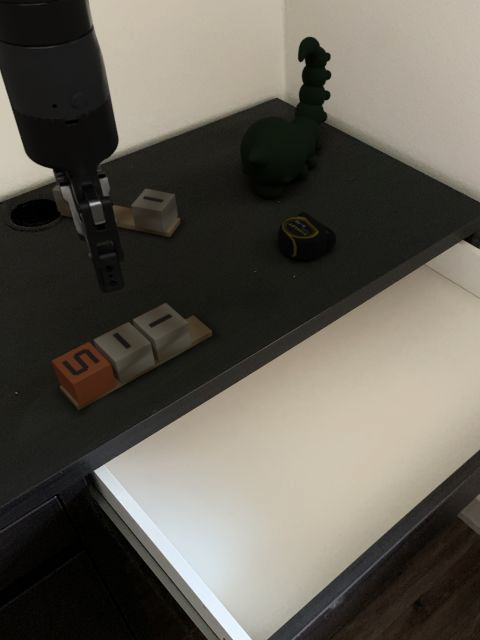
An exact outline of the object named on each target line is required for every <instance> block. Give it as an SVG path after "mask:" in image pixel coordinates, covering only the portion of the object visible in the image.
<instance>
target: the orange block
mask: <svg viewBox="0 0 480 640" xmlns="http://www.w3.org/2000/svg"><path fill="white" fill-rule="evenodd" d="M51 363H52V366H53V369H54V372H55V374H56V377H57V379H58V382H59V384H60V386H61V385H62V386H63V387H64V388H65V390H66V391H67V392H68V393H69V394H70V395H71V396H72V397H73V399H74V400H75V401H76V402H77V403H78V404H79V405H80V406H82V405H84V404H85V403H87V402H89V401H91V400H93V399H94V398H96V397H98V396H100V395H102V394H103V393H105V392H107V391H109V390H111V389H112V388H114V387H116V386H117V385H116V382H115V378H114V374H113V371H112V367H111V364H110V363H109V362H108V361H107V360H106V359H105V358H104V357H103V356H102V355H101V354H100V353H99V352H98V351H97V350H96V347H95V345H93V344H91V342H89V341H88V342H85V343H83V344H82V345H80V346H78V347H76V348H74V349H72V350H70V351H68V352H67V353H64V354H62V355H60V356H58V357H56V358H54V359H52V360H51Z"/></svg>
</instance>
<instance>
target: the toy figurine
mask: <svg viewBox="0 0 480 640" xmlns="http://www.w3.org/2000/svg"><path fill="white" fill-rule="evenodd" d="M331 57H332V55H331V53H330V52H327V51H326V50H325V49H324V48H323V47H322V46H321V45H320V42H319V40H318V39H317V38H316V37H313V36H306V37H304V38H303V39H302V40H301V41H300V42H299V45H298V50H297V61H298V62H299V63H303V62H304V64H305V66H304V67H303V69H302V71H301V81H302V84H301V86H300V88H299V91H298V101H299V102H298V103H297V105H296V107H295V109H294V118H292V119H291V121H290V120H288V119H286V118H283V117H280V116H266V117H262V118H260V119H257V120H256V121H255V122H253V123H252V124H251V125H250V126H249V127H248V128H247V129H246V130H245V132H244V134H243V136H242V138H241V142H240V146H239V153H240V160H241V165H242V166H241V172H242V173H243V174H244V175H247V176H249V177H250V178H251V179H252V180H254V181H255V183H254V190H255V191H256V193H257V194H258V195H259V196H260V197H262V198H266V199H271V200H272V199H277V198H279V197H281V195H282V194H283V191H284V187H283V186H284V185H287V184H289V183H290V182H292V181H293V180H294V179H297V180H303V179H306V178H307V177H308V174H309V169H314V168H315V167H316V165H317V164H318V159H317V157H316V155H314V152H315V151H321V150H322V149H323V147H324V140H323V138H321V137H320V135H321V129H320V126H321V125H322V123H325V122H326V121H327V120H328V113H327V112H326V111H325V109H324V106H323V105H324V104H325V102H327V101H329V100H330V98H331V95H332V93H331V92H330V90H327V89H325V85H326V83H327V81H329V80H331V78H332V72H331V71H330V69H326V66H327V64H328V62H330V61H331Z"/></svg>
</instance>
